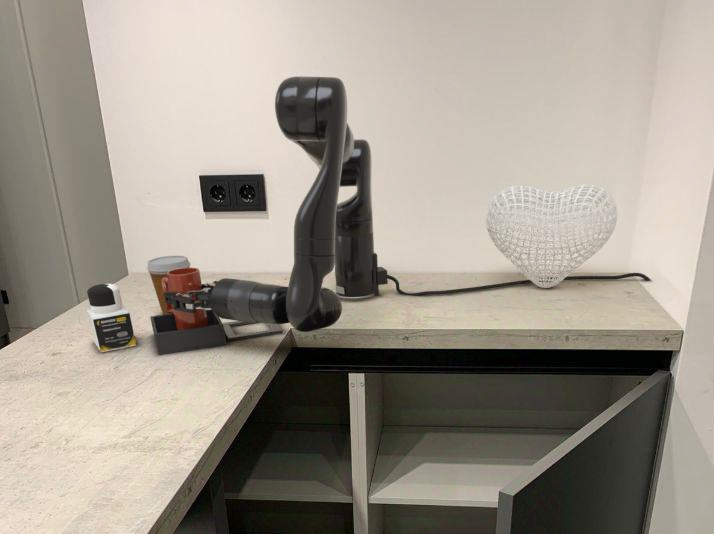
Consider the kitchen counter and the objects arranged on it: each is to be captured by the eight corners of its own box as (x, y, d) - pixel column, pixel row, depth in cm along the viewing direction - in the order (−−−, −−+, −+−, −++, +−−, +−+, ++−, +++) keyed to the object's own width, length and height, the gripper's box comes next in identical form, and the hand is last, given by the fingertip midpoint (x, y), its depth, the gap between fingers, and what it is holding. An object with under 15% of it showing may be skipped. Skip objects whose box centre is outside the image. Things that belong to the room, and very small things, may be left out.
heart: (610, 280, 171) (621, 178, 160) (608, 299, 158) (620, 189, 148) (490, 277, 179) (493, 180, 169) (478, 294, 167) (481, 191, 156)
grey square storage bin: (217, 326, 157) (214, 307, 155) (226, 344, 145) (223, 324, 143) (154, 335, 153) (150, 316, 151) (158, 354, 142) (154, 334, 140)
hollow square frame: (271, 318, 159) (271, 316, 159) (282, 333, 150) (282, 330, 150) (221, 326, 157) (220, 323, 156) (229, 341, 147) (228, 338, 147)
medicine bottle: (100, 353, 145) (86, 292, 139) (94, 343, 151) (80, 285, 145) (136, 346, 148) (124, 286, 142) (129, 336, 154) (116, 279, 148)
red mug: (214, 324, 148) (205, 268, 142) (193, 332, 143) (183, 276, 138) (181, 319, 152) (171, 265, 147) (159, 327, 148) (148, 272, 143)
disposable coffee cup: (188, 320, 162) (178, 264, 156) (148, 319, 164) (137, 265, 158) (204, 307, 170) (196, 254, 164) (166, 307, 172) (157, 255, 166)
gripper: (264, 271, 140) (199, 265, 148) (213, 290, 130) (147, 282, 138) (269, 310, 144) (205, 302, 152) (219, 331, 133) (154, 321, 142)
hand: (178, 292), depth 145 cm, fingers closed on red mug, 6 cm apart
